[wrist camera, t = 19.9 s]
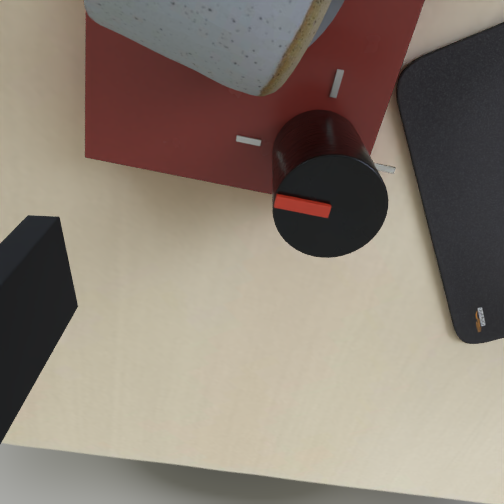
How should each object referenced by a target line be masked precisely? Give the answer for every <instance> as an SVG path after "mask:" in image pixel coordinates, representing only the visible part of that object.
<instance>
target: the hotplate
mask: <svg viewBox="0 0 504 504" xmlns="http://www.w3.org/2000/svg"><path fill="white" fill-rule="evenodd" d="M424 1H425V0H344V2H343V4H342V6H341V8H340V9H339V11H338V13H337V14H336V16H335V18H334V19H333V21H332V22H331V23H330V24H329V26H328V27H327V28H326V30H325V31H324V32H323V33H322V34H321V35H320V36H319V37H318V38H317V40H316V41H315V42H314V43H313V44H312V45H311V46H309V47H308V48H307V50H306V51H305V53H304V55H303V56H302V58H301V60H300V62H299V63H298V65H297V66H296V68H295V69H294V71H293V72H292V74H291V75H290V76H289V78H288V79H287V80H286V82H285V83H284V84H283V85H282V87H280V88H279V89H278V90H277V91H275V92H274V93H271V94H269V95H266V96H254V95H250V94H247V93H244V92H240V91H237V90H234V89H232V88H229V87H226V86H224V85H222V84H220V83H218V82H216V81H214V80H212V79H210V78H208V77H206V76H205V75H203V74H201V73H199V72H197V71H195V70H193V69H191V68H189V67H187V66H185V65H183V64H180V63H178V62H176V61H174V60H172V59H169V58H167V57H165V56H163V55H161V54H159V53H157V52H155V51H153V50H151V49H149V48H147V47H145V46H143V45H141V44H139V43H137V42H135V41H133V40H131V39H129V38H127V37H125V36H123V35H121V34H119V33H117V32H115V31H113V30H110V29H108V28H106V27H104V26H102V25H100V24H98V23H96V22H95V21H94V20H93V19H92V18H90V17H89V15H88V14H87V12H86V58H85V157H86V158H91V159H96V160H101V161H106V162H111V163H116V164H121V165H126V166H131V167H136V168H142V169H147V170H152V171H157V172H162V173H167V174H172V175H177V176H182V177H187V178H192V179H197V180H202V181H207V182H212V183H217V184H222V185H227V186H232V187H237V188H243V189H248V190H253V191H258V192H263V193H268V194H272V150H273V145H274V141H275V139H276V137H277V135H278V133H279V131H280V130H281V129H282V127H283V126H284V125H285V124H286V123H287V122H288V121H289V120H291V119H292V118H293V117H295V116H297V115H299V114H301V113H304V112H307V111H311V110H328V111H332V112H335V113H337V114H340V115H341V116H343V117H345V118H346V119H347V120H348V121H350V122H351V124H352V125H353V126H354V127H355V129H356V130H357V132H358V134H359V136H360V138H361V140H362V142H363V144H364V146H365V147H366V149H367V151H368V153H369V155H370V154H371V151H372V149H373V146H374V143H375V140H376V137H377V134H378V131H379V129H380V126H381V123H382V120H383V117H384V114H385V112H386V109H387V106H388V103H389V100H390V97H391V95H392V92H393V89H394V86H395V83H396V80H397V77H398V75H399V72H400V69H401V66H402V63H403V60H404V58H405V55H406V52H407V49H408V46H409V43H410V41H411V38H412V35H413V32H414V29H415V26H416V24H417V21H418V18H419V15H420V12H421V9H422V6H423V4H424ZM374 165H375V166H376V168H377V170H378V171H383V172H388V173H392V174H394V171H395V169H396V168H395V167H392V166H387V165H383V164H378V163H374Z"/></svg>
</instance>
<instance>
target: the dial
mask: <svg viewBox="0 0 504 504" xmlns="http://www.w3.org/2000/svg"><path fill="white" fill-rule="evenodd" d="M272 198H273V218H274V222H275V225H276V228H277V230H278V232H279V233H280V235H281V236H282V237H283V239H284V240H285V241H286V242H287V243H288V244H289V245H290V246H292V247H293V248H295V249H296V250H298V251H300V252H302V253H305V254H307V255H311V256H315V257H327V258H329V257H338V256H343V255H346V254H349V253H351V252H354V251H356V250H358V249H359V248H361V247H363V246H364V245H366V244H367V243H368V242H369V241H370V240H371V239H372V238H373V237H374V236H375V235H376V234H377V233H378V231H379V230H380V228H381V227H382V225H383V222H384V220H385V218H386V214H387V210H388V194H387V190H386V186H385V184H384V182H383V180H382V178H381V176H380V174H379V172H378V170H377V168H376V166H375V165H374V163H373V161H372V159H371V157H370V155H369V153H368V151H367V149H366V147H365V146H364V144H363V142H362V140H361V138H360V136H359V134H358V132H357V130H356V129H355V127H354V126H353V125H352V124H351V122H350V121H348V120H347V119H346V118H345V117H343V116H341V115H340V114H337V113H335V112H332V111H328V110H311V111H307V112H304V113H301V114H299V115H297V116H295V117H293V118H292V119H291V120H289V121H288V122H287V123H286V124H285V125H284V126H283V127H282V129H281V130H280V131H279V133H278V135H277V137H276V139H275V141H274V145H273V150H272Z"/></svg>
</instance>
